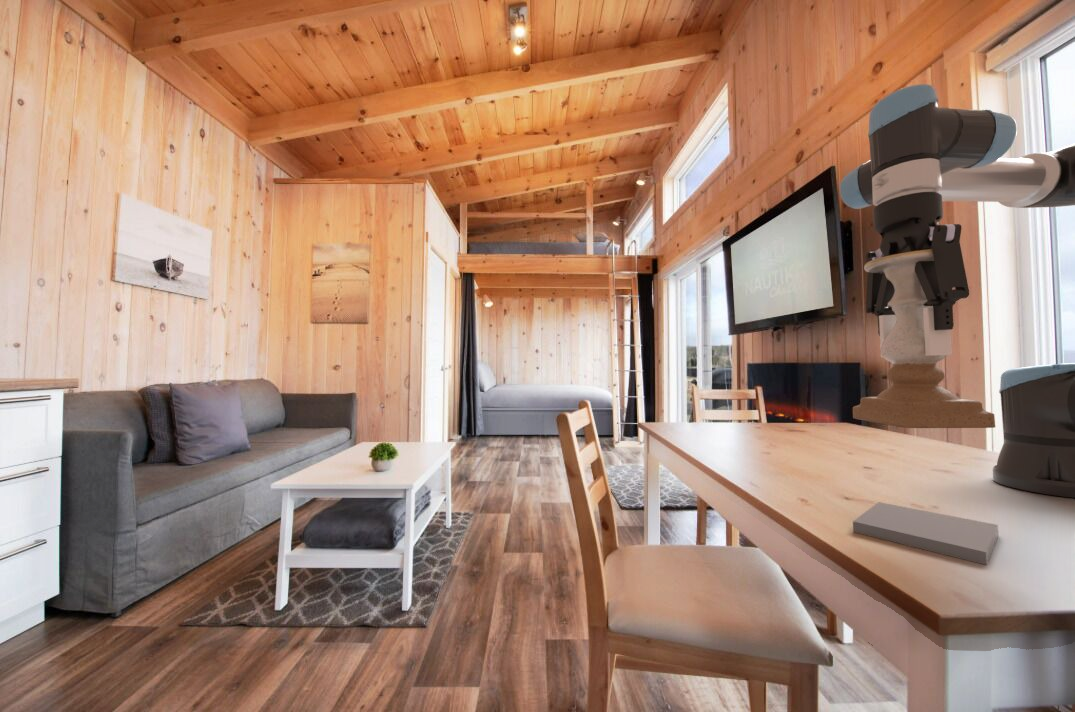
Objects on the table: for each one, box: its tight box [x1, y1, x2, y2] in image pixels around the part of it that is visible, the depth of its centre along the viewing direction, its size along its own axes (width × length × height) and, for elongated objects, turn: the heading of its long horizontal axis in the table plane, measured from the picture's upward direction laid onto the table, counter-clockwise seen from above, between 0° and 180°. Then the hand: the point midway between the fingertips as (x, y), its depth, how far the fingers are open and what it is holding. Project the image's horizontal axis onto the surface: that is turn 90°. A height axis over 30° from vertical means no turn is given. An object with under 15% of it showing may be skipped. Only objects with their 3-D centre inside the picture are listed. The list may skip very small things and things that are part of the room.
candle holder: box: [852, 249, 996, 429], centre depth 59 cm, size 11×11×24 cm
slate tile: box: [852, 501, 999, 566], centre depth 58 cm, size 13×13×2 cm
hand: (913, 356), depth 59 cm, fingers closed on candle holder, 7 cm apart
